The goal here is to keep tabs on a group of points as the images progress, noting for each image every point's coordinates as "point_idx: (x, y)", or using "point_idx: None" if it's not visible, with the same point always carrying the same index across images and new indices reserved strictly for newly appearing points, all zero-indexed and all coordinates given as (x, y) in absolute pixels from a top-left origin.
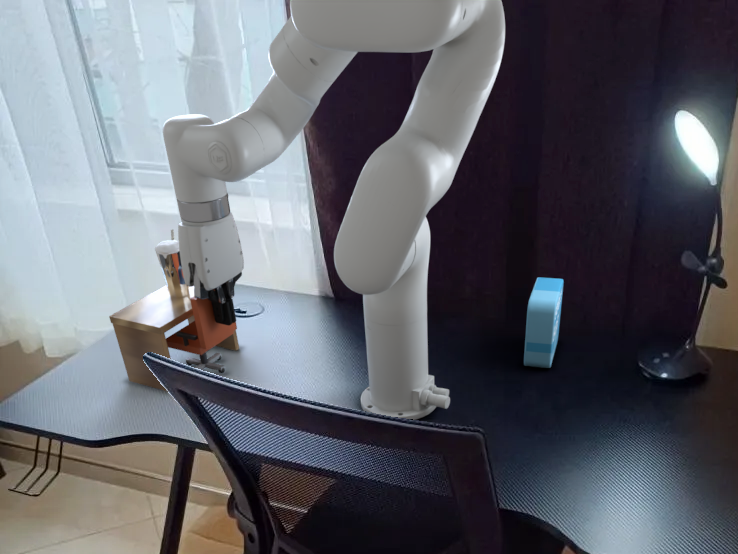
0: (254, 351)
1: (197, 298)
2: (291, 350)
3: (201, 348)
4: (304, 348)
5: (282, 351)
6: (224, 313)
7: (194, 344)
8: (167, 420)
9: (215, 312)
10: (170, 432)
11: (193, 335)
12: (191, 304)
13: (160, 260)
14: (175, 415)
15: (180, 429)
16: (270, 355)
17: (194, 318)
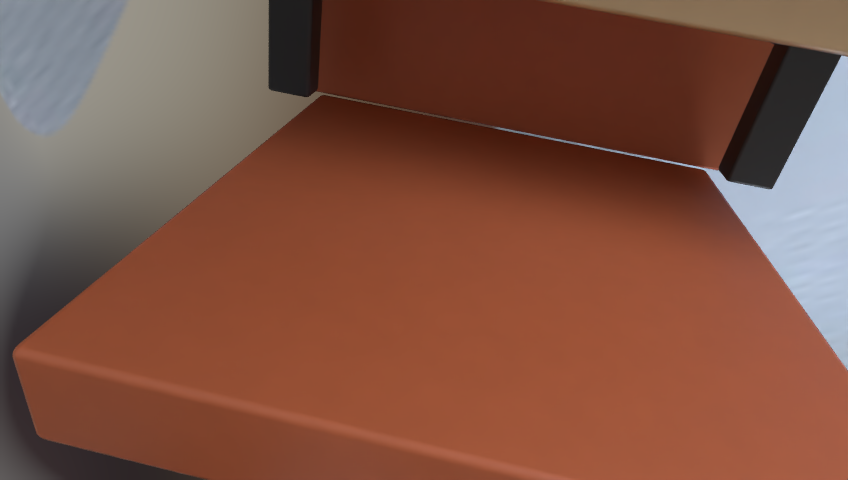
0: (815, 109)
1: (87, 445)
2: (818, 289)
3: (328, 93)
4: (838, 336)
5: (807, 253)
6: None
7: (356, 7)
8: (53, 10)
9: None
10: (5, 77)
11: (295, 61)
12: (88, 289)
13: None
14: (101, 24)
15: (43, 106)
16: (758, 212)
17: (202, 193)
